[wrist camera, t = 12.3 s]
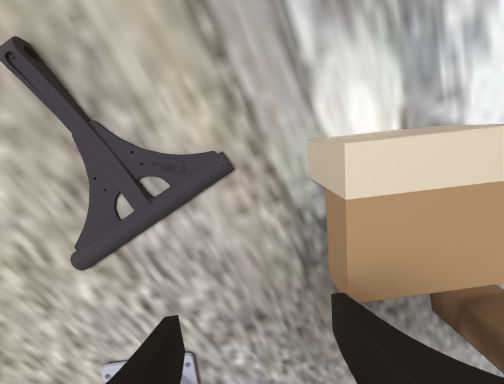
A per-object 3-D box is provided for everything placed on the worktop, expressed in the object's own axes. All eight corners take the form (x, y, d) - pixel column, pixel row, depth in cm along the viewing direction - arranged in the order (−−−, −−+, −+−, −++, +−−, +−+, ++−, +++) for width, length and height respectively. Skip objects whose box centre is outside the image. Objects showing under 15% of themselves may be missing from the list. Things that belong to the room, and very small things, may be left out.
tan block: (426, 238, 23) (507, 282, 16) (313, 252, 22) (347, 304, 16) (431, 126, 21) (528, 123, 14) (307, 139, 20) (344, 143, 14)
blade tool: (467, 299, 25) (556, 363, 18) (432, 309, 25) (507, 377, 18) (458, 167, 22) (561, 183, 15) (418, 178, 22) (502, 199, 15)
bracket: (109, -14, 18) (86, -40, 15) (234, 167, 21) (234, 173, 18) (-50, 109, 19) (-97, 105, 16) (93, 263, 22) (73, 281, 19)
